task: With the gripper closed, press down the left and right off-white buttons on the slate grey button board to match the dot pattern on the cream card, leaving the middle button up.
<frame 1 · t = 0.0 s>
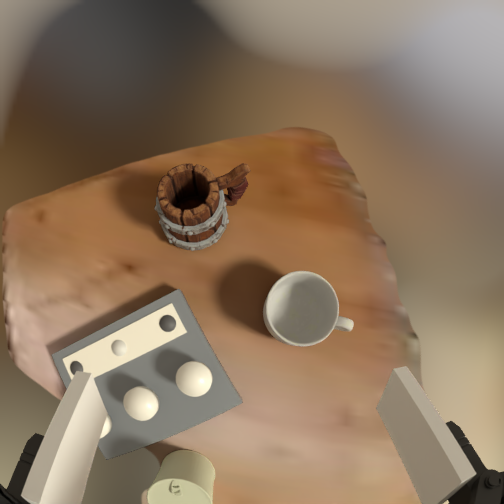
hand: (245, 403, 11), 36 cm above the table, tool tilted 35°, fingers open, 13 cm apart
button middle: (141, 403, 37), point 6 cm above the table, slide at 0.0 cm
can: (188, 471, 39), on the table
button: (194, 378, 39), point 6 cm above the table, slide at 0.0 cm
button board: (142, 379, 43), on the table
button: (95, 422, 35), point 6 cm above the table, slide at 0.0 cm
mug: (203, 217, 52), on the table
teacup: (299, 317, 49), on the table
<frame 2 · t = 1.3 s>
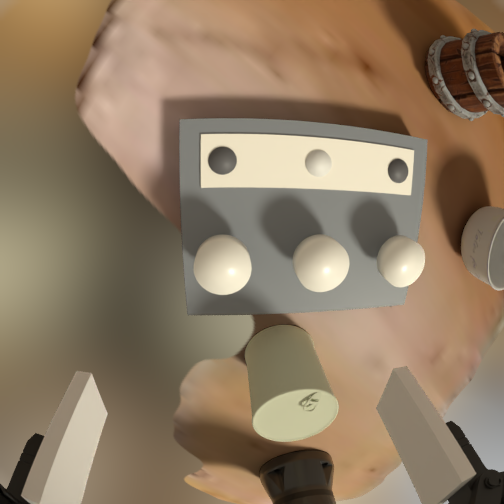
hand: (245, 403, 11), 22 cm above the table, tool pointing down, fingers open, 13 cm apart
button middle: (320, 263, 27), point 6 cm above the table, slide at 0.0 cm
can: (279, 352, 38), on the table
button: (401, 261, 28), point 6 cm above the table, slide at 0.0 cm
button board: (307, 217, 32), on the table
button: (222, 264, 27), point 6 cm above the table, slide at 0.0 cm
mug: (460, 82, 28), on the table
teacup: (476, 243, 36), on the table
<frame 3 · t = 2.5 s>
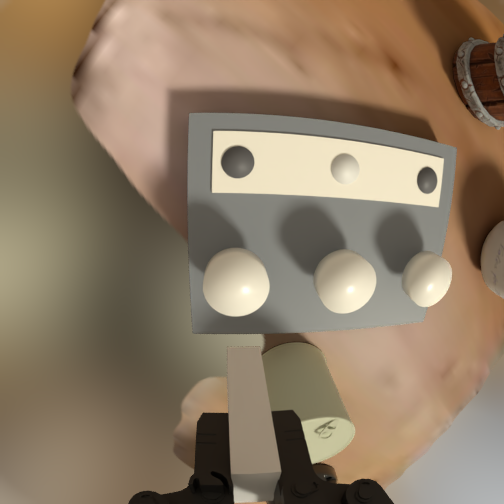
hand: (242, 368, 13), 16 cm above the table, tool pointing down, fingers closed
button middle: (344, 281, 24), point 6 cm above the table, slide at 0.0 cm
can: (289, 369, 35), on the table
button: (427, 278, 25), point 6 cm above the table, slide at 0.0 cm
button board: (327, 227, 29), on the table
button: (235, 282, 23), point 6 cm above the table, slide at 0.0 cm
mug: (486, 87, 24), on the table
teacup: (494, 256, 32), on the table
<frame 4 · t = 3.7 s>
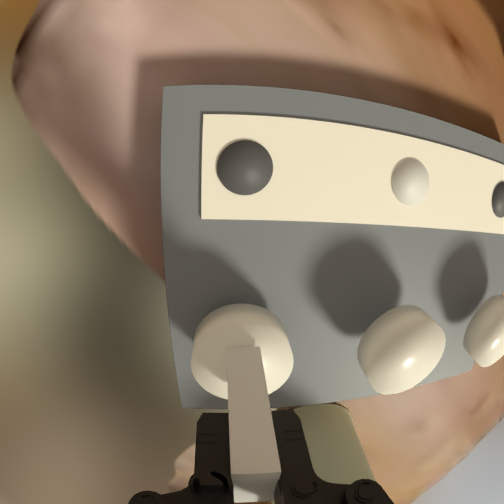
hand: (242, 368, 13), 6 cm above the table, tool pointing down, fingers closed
button middle: (402, 351, 15), point 6 cm above the table, slide at 0.0 cm
can: (306, 430, 25), on the table
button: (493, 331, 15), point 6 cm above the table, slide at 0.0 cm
button board: (371, 263, 19), on the table
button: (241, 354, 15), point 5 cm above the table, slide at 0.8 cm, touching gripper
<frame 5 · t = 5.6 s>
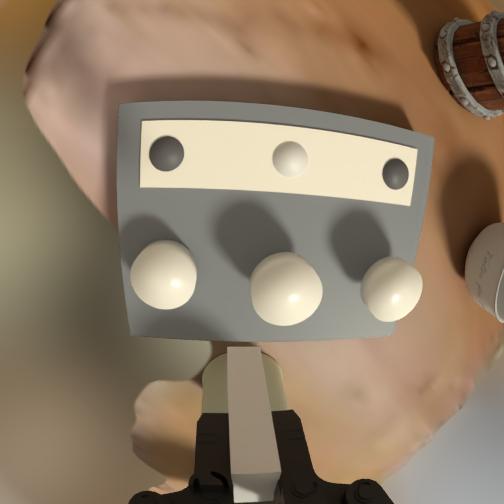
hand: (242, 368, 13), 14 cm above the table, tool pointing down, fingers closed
button middle: (285, 289, 21), point 6 cm above the table, slide at 0.0 cm
can: (242, 378, 32), on the table
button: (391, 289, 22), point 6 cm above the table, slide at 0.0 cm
button board: (276, 226, 26), on the table
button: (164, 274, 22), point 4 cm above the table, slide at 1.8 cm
mug: (475, 74, 22), on the table
teacup: (481, 264, 30), on the table
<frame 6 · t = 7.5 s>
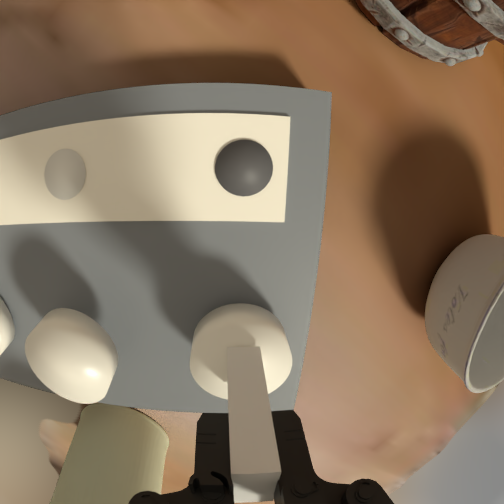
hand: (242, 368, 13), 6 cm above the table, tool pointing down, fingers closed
button middle: (70, 358, 13), point 6 cm above the table, slide at 0.0 cm
can: (124, 430, 23), on the table
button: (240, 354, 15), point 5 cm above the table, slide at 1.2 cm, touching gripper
button board: (98, 262, 17), on the table
mug: (427, 7, 13), on the table
teacup: (458, 295, 21), on the table
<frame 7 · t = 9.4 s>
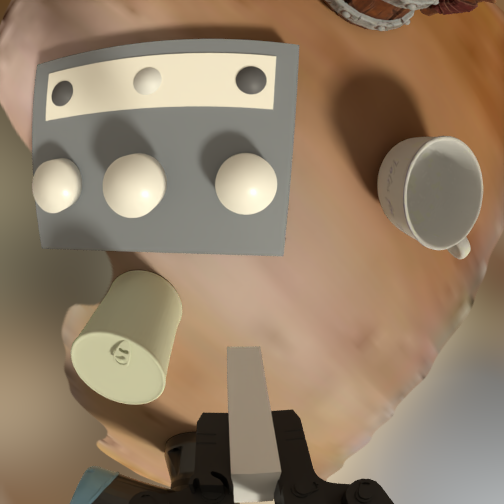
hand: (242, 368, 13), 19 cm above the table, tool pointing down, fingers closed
button middle: (134, 184, 22), point 6 cm above the table, slide at 0.0 cm
can: (144, 304, 33), on the table
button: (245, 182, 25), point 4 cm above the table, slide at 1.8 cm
button board: (153, 145, 27), on the table
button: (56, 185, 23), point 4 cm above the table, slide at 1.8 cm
teacup: (410, 192, 30), on the table
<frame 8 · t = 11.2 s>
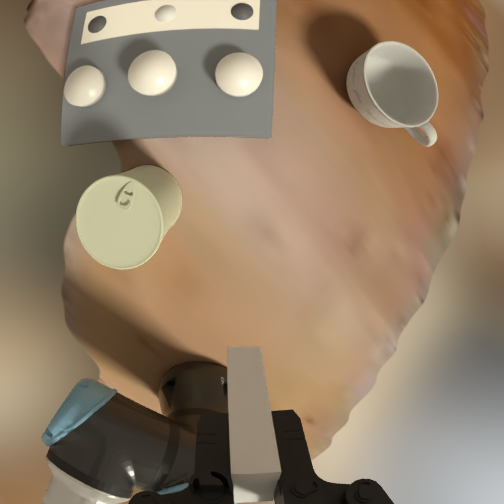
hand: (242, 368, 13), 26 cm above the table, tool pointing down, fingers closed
button middle: (153, 73, 26), point 6 cm above the table, slide at 0.0 cm
can: (147, 200, 36), on the table
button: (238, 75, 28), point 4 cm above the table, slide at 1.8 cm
button board: (166, 62, 30), on the table
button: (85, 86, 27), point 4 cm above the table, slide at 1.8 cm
teacup: (379, 101, 34), on the table
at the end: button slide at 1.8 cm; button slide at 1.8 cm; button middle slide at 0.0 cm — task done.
